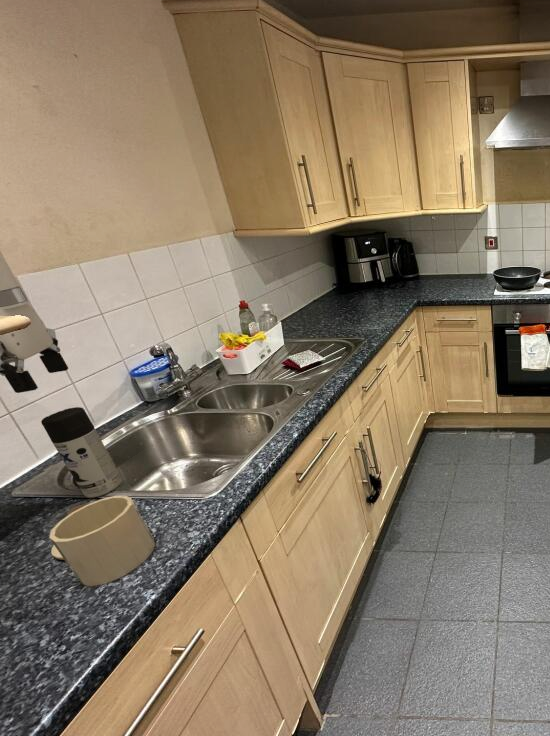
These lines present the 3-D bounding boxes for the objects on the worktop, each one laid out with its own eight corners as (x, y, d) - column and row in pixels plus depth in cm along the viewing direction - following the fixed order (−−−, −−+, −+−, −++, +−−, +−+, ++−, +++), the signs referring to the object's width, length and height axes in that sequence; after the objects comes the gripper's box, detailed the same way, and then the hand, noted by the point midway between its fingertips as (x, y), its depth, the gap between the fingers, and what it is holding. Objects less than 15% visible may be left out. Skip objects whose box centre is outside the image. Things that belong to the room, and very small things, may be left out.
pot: (66, 595, 68) (33, 550, 64) (100, 547, 77) (73, 505, 73) (140, 573, 71) (113, 529, 67) (164, 530, 80) (142, 489, 76)
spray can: (78, 495, 92) (32, 420, 84) (113, 476, 98) (73, 404, 90) (95, 501, 90) (49, 425, 82) (130, 481, 96) (90, 408, 88)
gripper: (4, 293, 83) (48, 368, 90) (-73, 316, 68) (-13, 404, 75) (51, 287, 85) (90, 361, 92) (-15, 308, 70) (38, 395, 77)
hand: (44, 380), depth 83 cm, fingers open, 9 cm apart
